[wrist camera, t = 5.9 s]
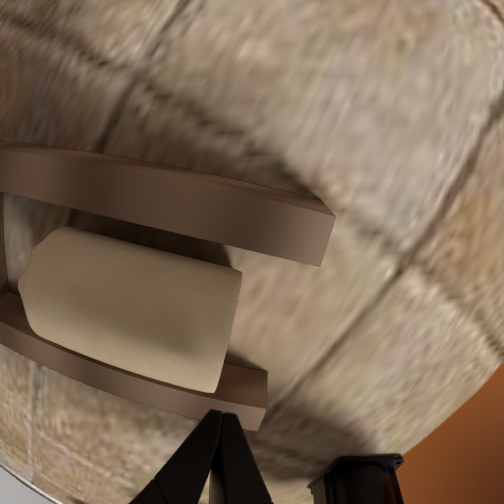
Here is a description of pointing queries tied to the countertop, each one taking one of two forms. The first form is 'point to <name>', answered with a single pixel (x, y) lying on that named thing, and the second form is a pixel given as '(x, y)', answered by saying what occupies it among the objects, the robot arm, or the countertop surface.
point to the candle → (132, 306)
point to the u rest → (166, 218)
